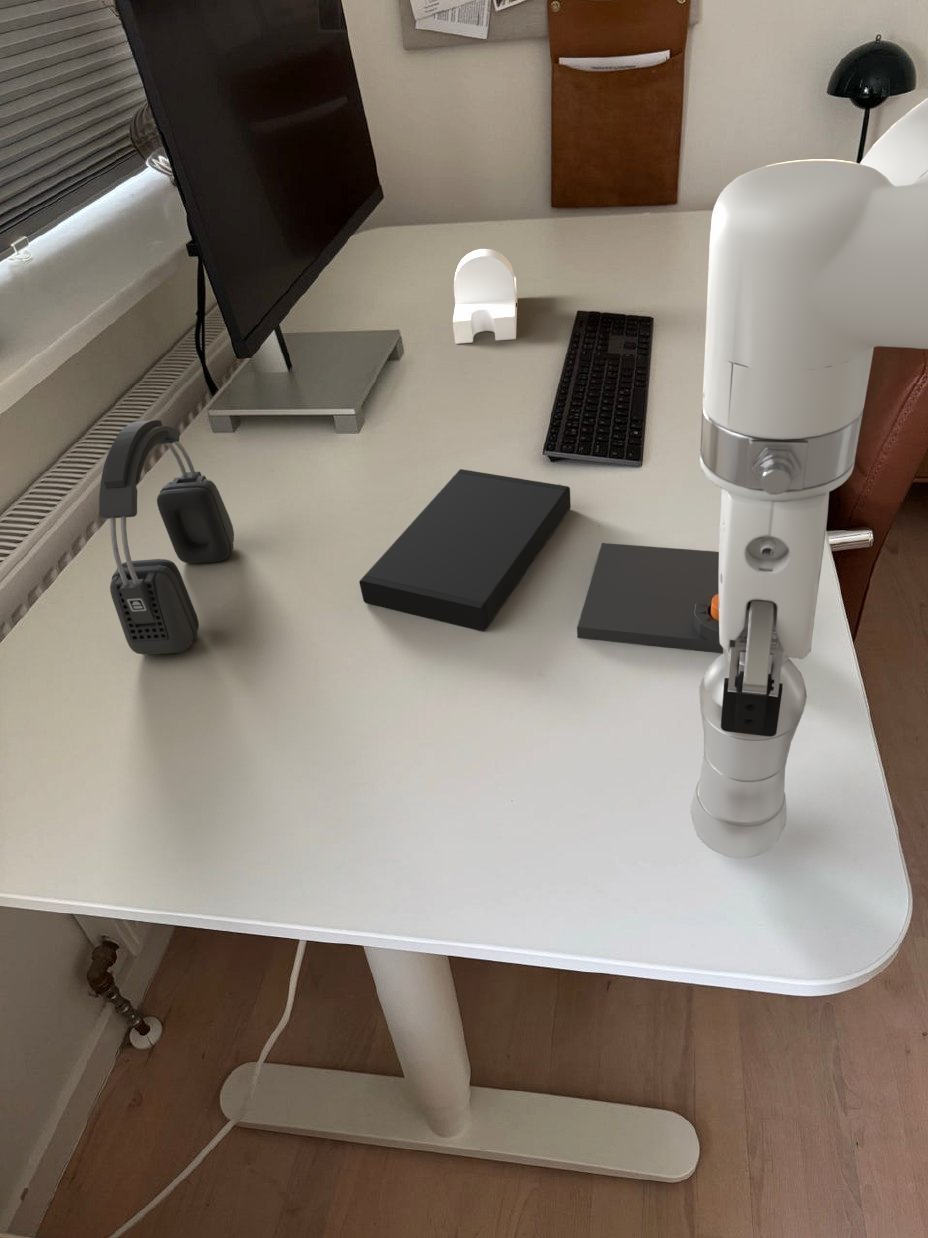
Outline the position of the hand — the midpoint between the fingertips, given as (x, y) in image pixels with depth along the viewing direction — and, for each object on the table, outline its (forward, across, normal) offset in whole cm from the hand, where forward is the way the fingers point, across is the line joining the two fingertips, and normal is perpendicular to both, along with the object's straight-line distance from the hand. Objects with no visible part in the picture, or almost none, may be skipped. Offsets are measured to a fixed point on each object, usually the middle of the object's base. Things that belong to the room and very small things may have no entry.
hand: (751, 687), depth 56 cm
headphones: (+15, +21, +59) cm, 64 cm away
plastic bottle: (+15, 0, 0) cm, 15 cm away
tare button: (+14, +23, +2) cm, 27 cm away
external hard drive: (+16, +33, +30) cm, 47 cm away
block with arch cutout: (+16, +98, +46) cm, 109 cm away
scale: (+16, +28, +8) cm, 33 cm away
